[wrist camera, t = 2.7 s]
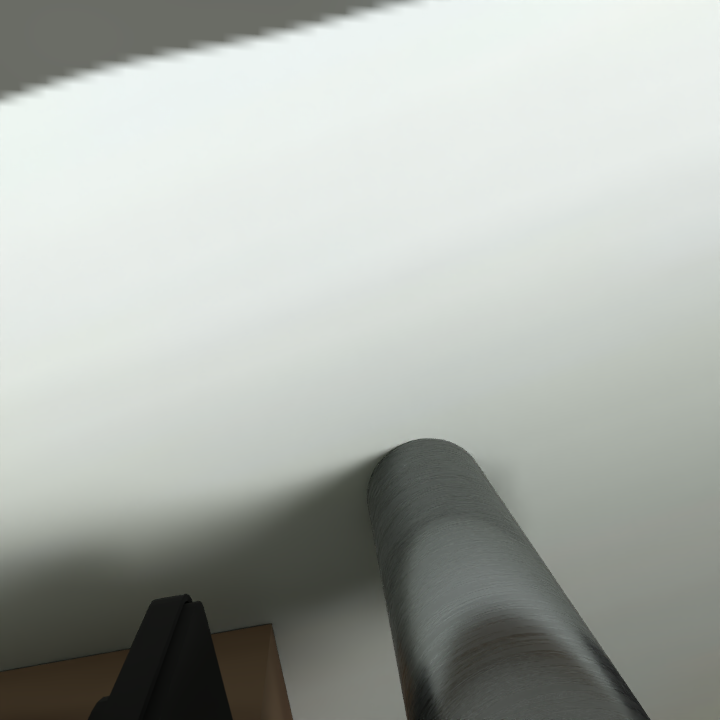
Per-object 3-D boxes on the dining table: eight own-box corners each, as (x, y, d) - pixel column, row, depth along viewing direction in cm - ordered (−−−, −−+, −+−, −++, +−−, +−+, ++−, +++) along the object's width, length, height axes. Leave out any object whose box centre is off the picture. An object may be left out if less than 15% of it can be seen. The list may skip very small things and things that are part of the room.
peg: (488, 535, 14) (893, 1260, 4) (375, 555, 14) (517, 1350, 4) (478, 429, 13) (944, 1012, 3) (359, 449, 13) (485, 1115, 3)
